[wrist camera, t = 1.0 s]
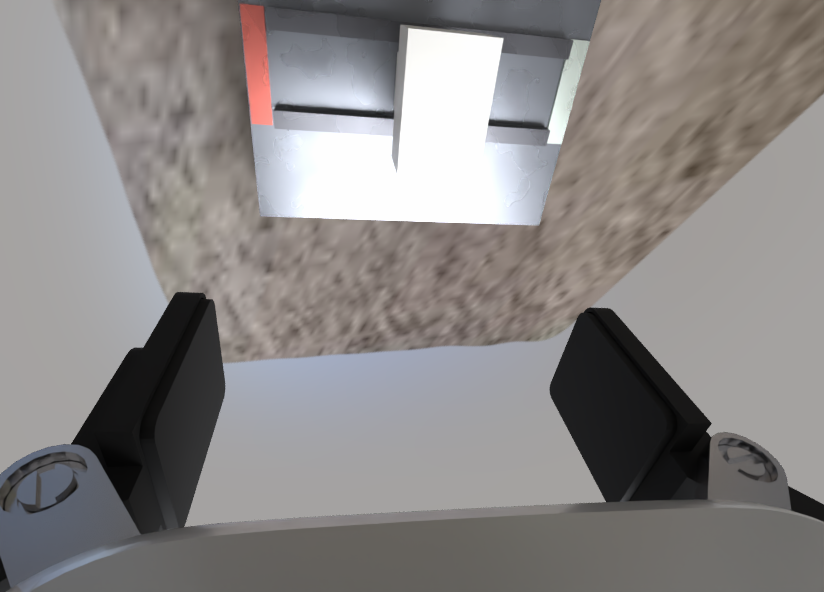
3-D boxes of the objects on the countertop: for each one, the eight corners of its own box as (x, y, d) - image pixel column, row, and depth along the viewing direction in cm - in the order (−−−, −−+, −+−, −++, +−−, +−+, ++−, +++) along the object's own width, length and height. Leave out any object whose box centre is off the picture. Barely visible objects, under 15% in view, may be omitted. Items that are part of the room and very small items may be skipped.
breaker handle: (390, 19, 24) (408, 28, 18) (460, 27, 25) (503, 38, 18) (383, 132, 27) (397, 175, 21) (446, 136, 28) (477, 179, 22)
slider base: (245, -126, 25) (216, -164, 19) (575, -76, 28) (636, -94, 22) (271, 184, 35) (257, 222, 29) (513, 195, 38) (543, 231, 32)
